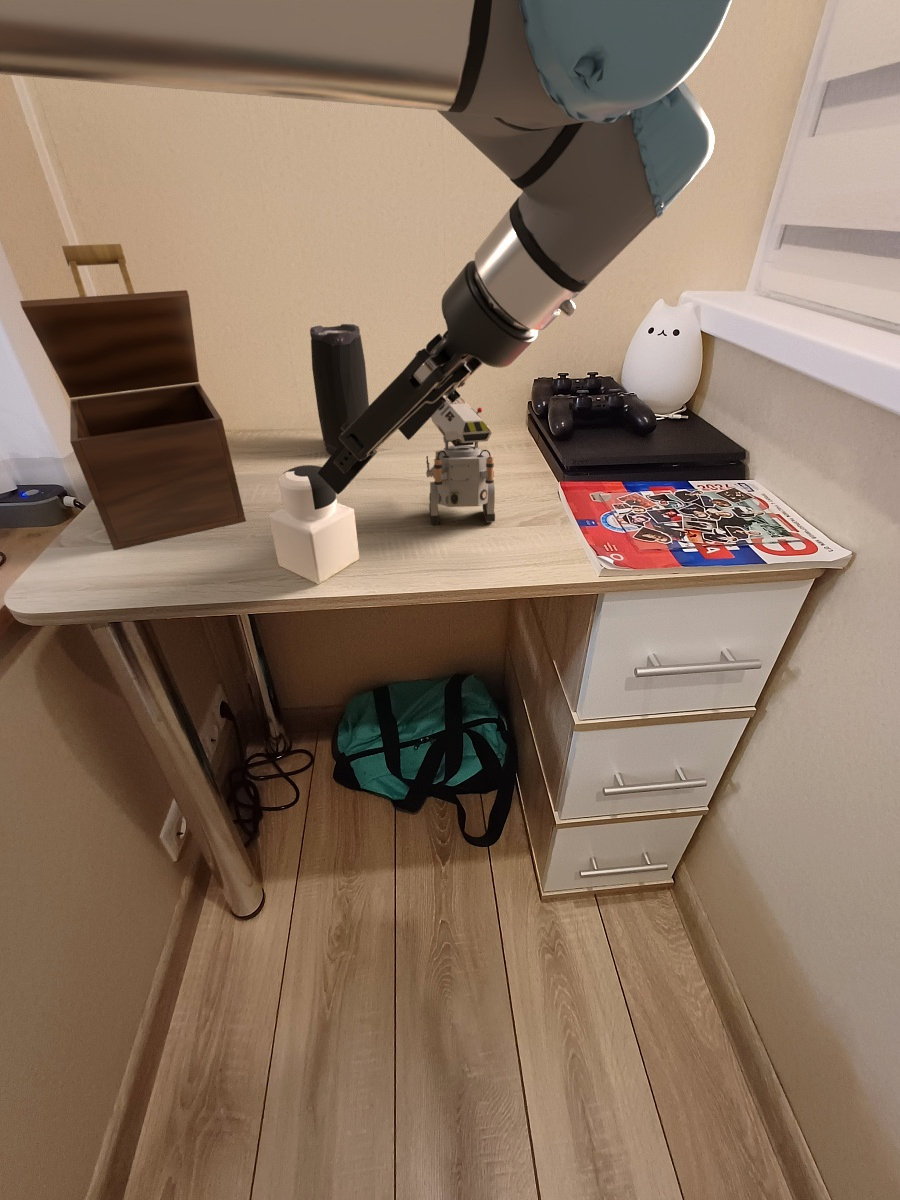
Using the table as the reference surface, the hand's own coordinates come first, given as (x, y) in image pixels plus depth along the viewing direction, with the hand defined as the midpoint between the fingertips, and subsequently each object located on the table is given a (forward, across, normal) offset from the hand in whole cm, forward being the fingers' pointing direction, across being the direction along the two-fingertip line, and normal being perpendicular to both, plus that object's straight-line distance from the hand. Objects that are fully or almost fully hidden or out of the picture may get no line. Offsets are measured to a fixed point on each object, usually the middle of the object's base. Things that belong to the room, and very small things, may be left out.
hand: (368, 454), depth 58 cm
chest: (+36, +2, +16) cm, 40 cm away
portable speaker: (+31, +32, +8) cm, 45 cm away
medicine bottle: (+17, -1, -4) cm, 18 cm away
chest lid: (+22, +4, +31) cm, 38 cm away
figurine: (+12, +19, -12) cm, 26 cm away
